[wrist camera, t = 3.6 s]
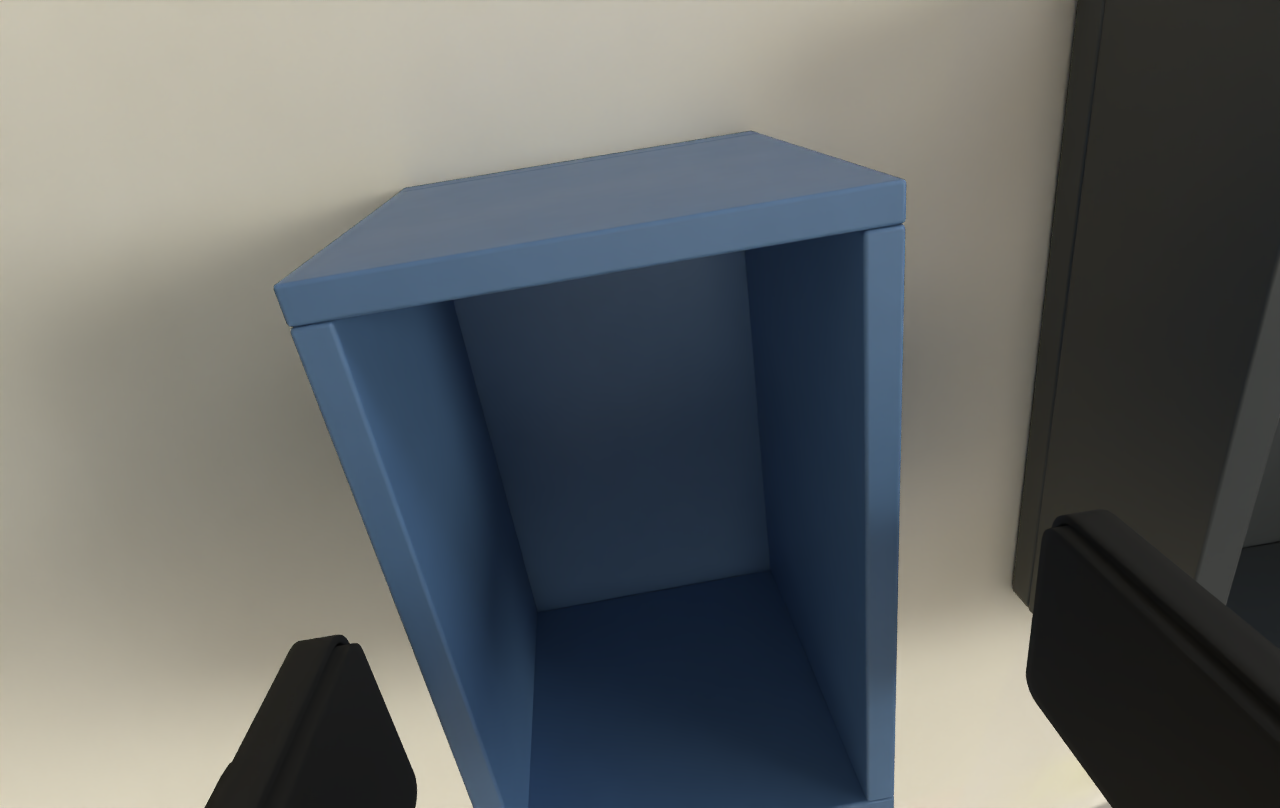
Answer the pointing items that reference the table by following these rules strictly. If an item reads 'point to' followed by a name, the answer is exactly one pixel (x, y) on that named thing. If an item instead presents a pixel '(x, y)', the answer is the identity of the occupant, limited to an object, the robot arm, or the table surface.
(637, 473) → the blue bin
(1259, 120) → the box
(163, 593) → the table surface
